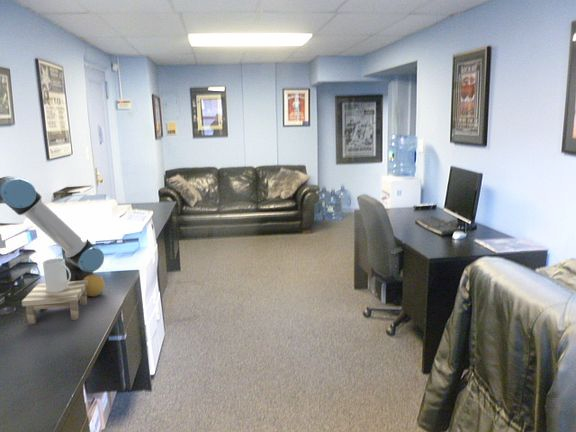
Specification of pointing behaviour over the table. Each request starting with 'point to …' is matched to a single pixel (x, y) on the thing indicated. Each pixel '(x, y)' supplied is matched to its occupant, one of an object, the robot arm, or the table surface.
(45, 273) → the mug
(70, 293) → the footstool
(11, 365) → the table surface
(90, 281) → the stress ball
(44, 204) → the robot arm
